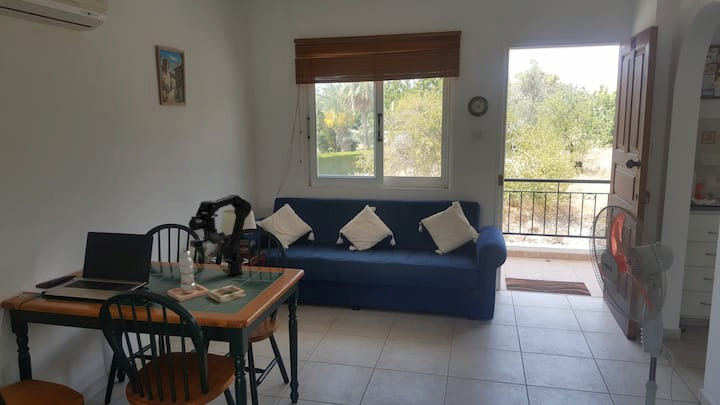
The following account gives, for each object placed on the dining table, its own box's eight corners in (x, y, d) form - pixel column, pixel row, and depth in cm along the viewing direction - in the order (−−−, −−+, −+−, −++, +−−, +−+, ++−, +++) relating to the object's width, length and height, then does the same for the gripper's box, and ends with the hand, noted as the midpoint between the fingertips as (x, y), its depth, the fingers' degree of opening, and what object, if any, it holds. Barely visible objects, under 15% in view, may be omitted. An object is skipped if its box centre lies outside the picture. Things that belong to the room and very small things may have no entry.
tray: (196, 287, 237) (196, 283, 236) (209, 294, 227) (209, 289, 226) (167, 294, 227) (167, 290, 227) (180, 301, 217) (180, 297, 217)
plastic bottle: (195, 294, 224) (192, 252, 221) (180, 295, 223) (176, 253, 220) (197, 290, 231) (194, 249, 228) (182, 291, 229) (178, 250, 226)
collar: (232, 290, 231) (232, 285, 231) (245, 296, 223) (245, 290, 222) (208, 296, 223) (208, 291, 223) (221, 303, 215) (221, 297, 214)
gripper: (198, 232, 226) (201, 264, 229) (234, 226, 239) (236, 256, 241) (188, 229, 234) (190, 260, 237) (223, 223, 247) (225, 253, 249)
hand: (211, 257), depth 241 cm, fingers open, 9 cm apart
